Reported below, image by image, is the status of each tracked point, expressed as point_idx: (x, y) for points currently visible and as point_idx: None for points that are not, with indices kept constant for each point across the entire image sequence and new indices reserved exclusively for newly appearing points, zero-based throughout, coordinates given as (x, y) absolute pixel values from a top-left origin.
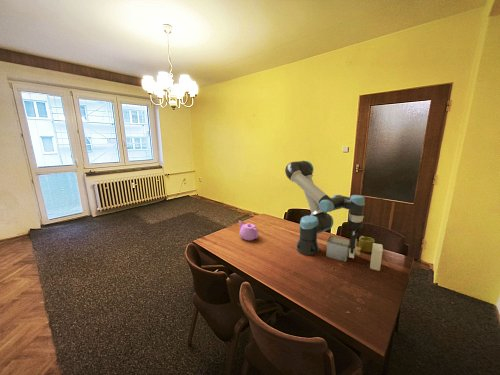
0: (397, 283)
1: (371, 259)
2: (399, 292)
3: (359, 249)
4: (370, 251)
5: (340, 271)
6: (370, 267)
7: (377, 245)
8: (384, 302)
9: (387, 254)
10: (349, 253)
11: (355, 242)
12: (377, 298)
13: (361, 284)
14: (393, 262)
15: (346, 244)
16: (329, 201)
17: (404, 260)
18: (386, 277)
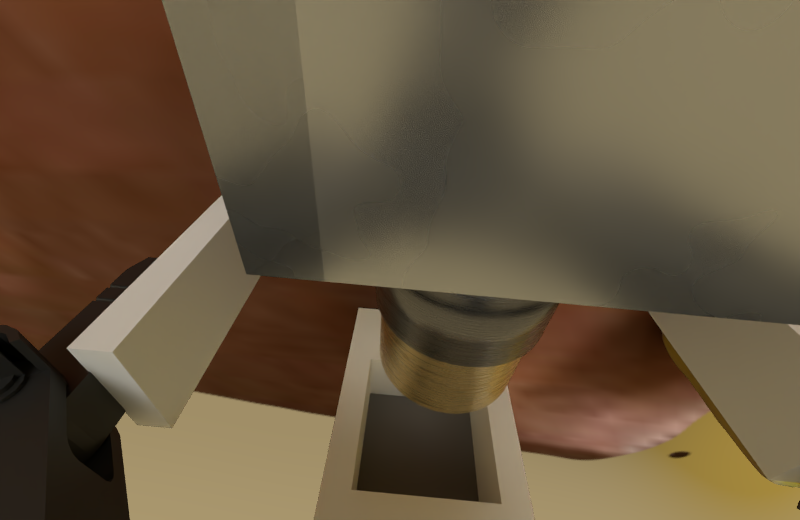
0: (277, 396)
1: (340, 393)
2: (197, 390)
3: (404, 384)
4: (665, 346)
5: (44, 26)
6: (356, 318)
7: None
8: (28, 335)
9: (638, 407)
10: (199, 223)
11: (712, 365)
12: (20, 313)
13: (57, 244)
14: (520, 414)
15: (309, 235)
16: None
17: (563, 447)
18: (301, 369)
